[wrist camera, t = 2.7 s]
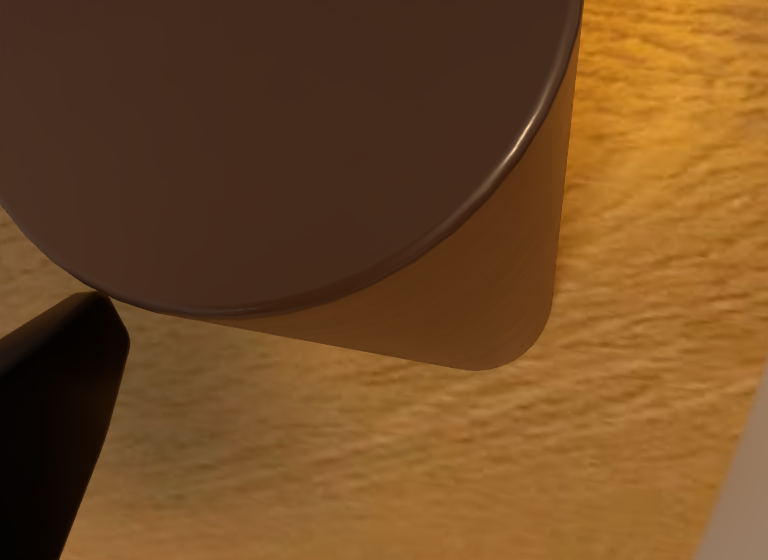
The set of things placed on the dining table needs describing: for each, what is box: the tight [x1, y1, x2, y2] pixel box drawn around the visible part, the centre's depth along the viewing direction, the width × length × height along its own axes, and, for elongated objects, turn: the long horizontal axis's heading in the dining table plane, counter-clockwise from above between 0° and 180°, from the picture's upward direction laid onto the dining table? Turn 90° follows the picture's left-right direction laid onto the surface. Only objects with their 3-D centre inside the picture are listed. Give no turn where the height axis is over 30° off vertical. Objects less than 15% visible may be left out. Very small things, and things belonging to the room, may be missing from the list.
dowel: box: [0, 0, 584, 371], centre depth 11 cm, size 4×4×15 cm
